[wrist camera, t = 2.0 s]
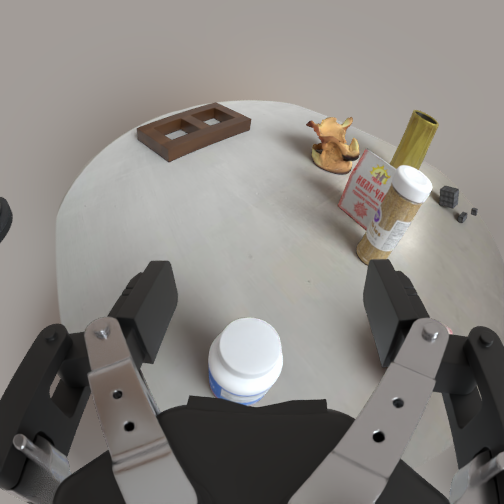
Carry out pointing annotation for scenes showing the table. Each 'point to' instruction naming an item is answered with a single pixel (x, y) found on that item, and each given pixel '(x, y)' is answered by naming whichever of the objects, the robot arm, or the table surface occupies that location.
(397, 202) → the sprinkles bottle
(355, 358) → the table surface
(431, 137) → the vase
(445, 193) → the building blocks
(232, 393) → the pill bottle
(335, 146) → the orange curved piece
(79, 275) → the table surface
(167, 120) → the socket base
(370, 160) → the white gabled box
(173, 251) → the table surface
